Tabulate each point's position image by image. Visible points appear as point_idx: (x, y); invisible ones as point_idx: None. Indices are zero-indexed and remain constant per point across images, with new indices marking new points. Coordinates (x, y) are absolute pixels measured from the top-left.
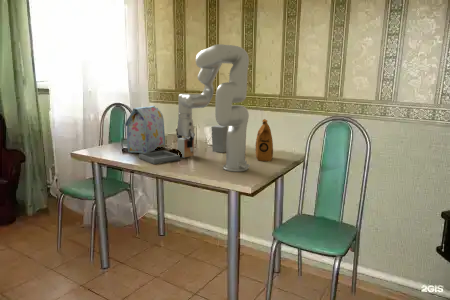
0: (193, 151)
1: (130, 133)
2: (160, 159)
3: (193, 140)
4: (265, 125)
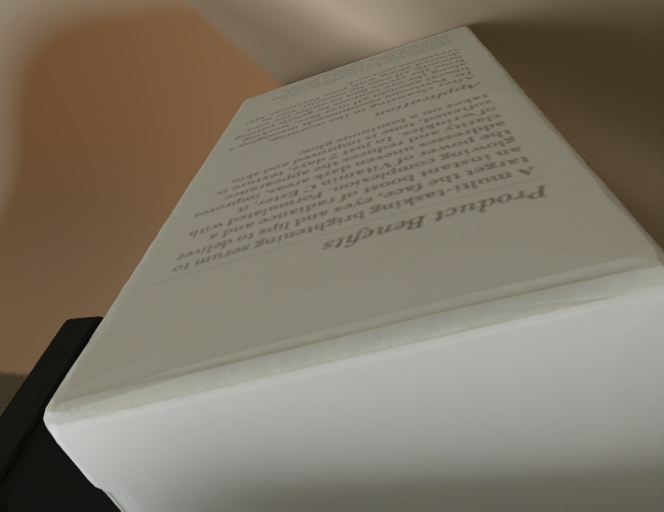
0: (486, 49)
1: None
2: None
3: (616, 200)
4: None
